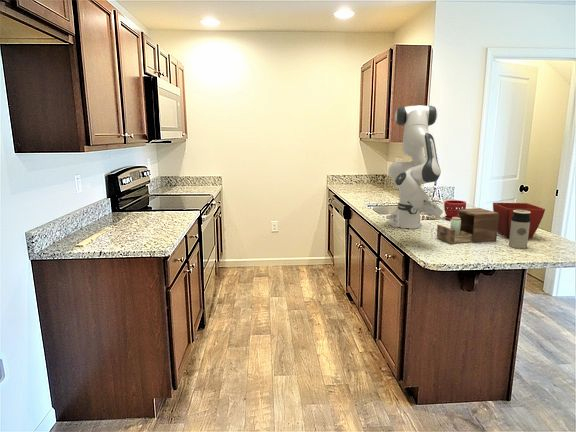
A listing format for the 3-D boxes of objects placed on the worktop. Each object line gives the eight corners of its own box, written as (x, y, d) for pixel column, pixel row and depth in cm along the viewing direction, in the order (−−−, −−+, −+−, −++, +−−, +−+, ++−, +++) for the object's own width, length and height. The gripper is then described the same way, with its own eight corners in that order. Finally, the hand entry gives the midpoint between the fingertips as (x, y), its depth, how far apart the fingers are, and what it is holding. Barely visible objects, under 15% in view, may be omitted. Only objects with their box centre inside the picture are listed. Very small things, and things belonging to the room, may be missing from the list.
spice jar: (447, 237, 212) (449, 217, 210) (455, 236, 213) (457, 216, 211) (453, 239, 207) (455, 218, 205) (461, 239, 208) (463, 218, 206)
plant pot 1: (459, 217, 266) (460, 199, 264) (468, 221, 254) (470, 203, 251) (439, 217, 266) (441, 199, 263) (448, 221, 253) (449, 203, 251)
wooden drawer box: (455, 236, 218) (458, 209, 215) (477, 234, 222) (480, 208, 219) (473, 243, 205) (476, 214, 202) (496, 241, 209) (499, 213, 205)
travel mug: (508, 243, 204) (512, 209, 200) (526, 245, 200) (531, 210, 196) (508, 247, 197) (512, 211, 194) (526, 249, 193) (531, 213, 190)
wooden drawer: (433, 237, 214) (434, 225, 213) (459, 235, 218) (460, 223, 217) (448, 244, 202) (449, 230, 201) (475, 241, 206) (476, 228, 204)
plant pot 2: (523, 231, 228) (527, 202, 225) (542, 240, 210) (546, 209, 206) (489, 231, 229) (492, 202, 226) (504, 240, 211) (508, 208, 207)
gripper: (435, 197, 190) (451, 216, 195) (412, 191, 210) (427, 209, 214) (426, 207, 190) (443, 226, 195) (404, 200, 210) (419, 217, 214)
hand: (434, 217), depth 204 cm, fingers open, 6 cm apart
